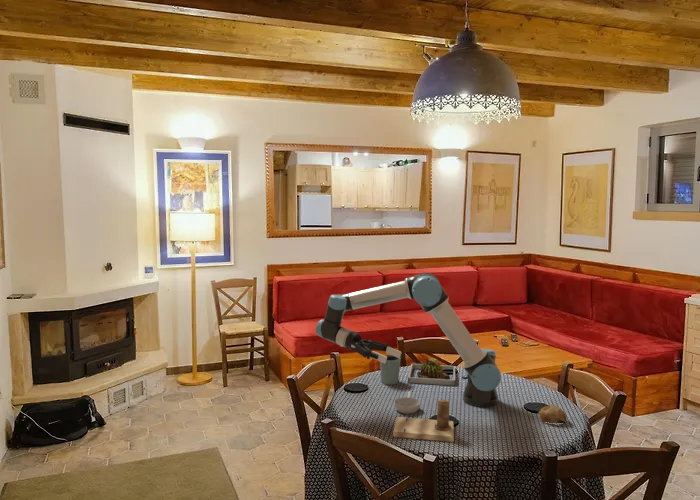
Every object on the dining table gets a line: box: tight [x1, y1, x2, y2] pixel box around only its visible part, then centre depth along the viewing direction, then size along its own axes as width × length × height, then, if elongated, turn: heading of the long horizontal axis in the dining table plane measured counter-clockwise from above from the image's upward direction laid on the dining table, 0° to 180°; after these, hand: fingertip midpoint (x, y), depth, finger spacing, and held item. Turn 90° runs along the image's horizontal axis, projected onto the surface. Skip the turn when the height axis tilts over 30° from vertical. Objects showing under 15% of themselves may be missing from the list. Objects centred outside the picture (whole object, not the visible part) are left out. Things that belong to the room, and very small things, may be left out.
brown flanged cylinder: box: [435, 399, 451, 431], centre depth 207 cm, size 6×6×10 cm
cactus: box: [416, 357, 450, 380], centre depth 274 cm, size 17×16×10 cm
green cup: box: [379, 354, 402, 386], centre depth 266 cm, size 10×10×12 cm
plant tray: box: [407, 363, 456, 386], centre depth 275 cm, size 23×24×2 cm
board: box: [393, 416, 455, 443], centre depth 209 cm, size 22×14×2 cm, turn 80°
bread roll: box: [537, 404, 567, 423], centre depth 220 cm, size 10×10×8 cm
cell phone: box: [461, 373, 468, 380], centre depth 271 cm, size 7×14×1 cm, turn 53°
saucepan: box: [393, 390, 421, 415], centre depth 234 cm, size 11×18×4 cm, turn 168°
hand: (393, 357), depth 219 cm, fingers open, 13 cm apart
